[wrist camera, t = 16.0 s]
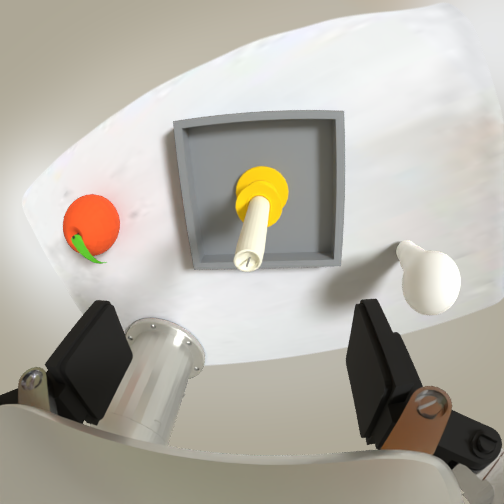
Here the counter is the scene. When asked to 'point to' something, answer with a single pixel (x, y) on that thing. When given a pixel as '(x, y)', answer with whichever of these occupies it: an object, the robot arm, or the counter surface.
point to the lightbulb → (428, 279)
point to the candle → (257, 212)
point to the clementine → (91, 226)
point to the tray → (274, 156)
